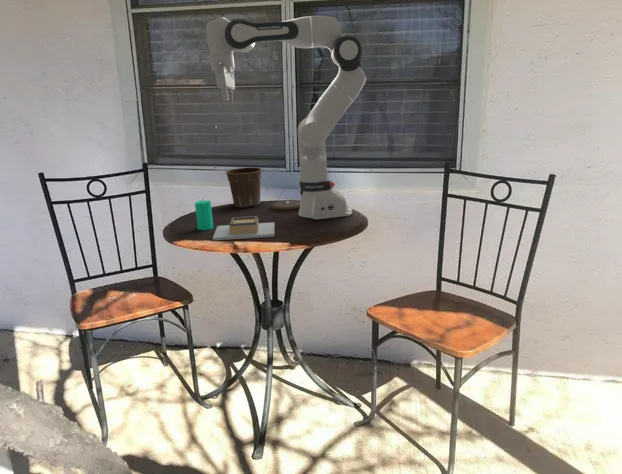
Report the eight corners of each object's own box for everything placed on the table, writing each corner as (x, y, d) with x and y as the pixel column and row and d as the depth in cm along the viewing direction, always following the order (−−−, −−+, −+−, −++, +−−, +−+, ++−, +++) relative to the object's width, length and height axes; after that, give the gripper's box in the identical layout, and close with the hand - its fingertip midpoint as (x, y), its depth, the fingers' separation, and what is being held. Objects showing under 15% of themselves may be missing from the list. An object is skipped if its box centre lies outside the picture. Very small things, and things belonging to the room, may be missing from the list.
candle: (209, 230, 195) (206, 199, 191) (195, 230, 196) (191, 199, 192) (215, 225, 200) (212, 196, 197) (201, 225, 201) (198, 196, 198)
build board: (274, 224, 197) (273, 212, 196) (274, 236, 182) (273, 223, 181) (217, 228, 196) (216, 216, 195) (212, 240, 181) (211, 227, 180)
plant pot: (224, 209, 227) (220, 173, 222) (234, 201, 242) (231, 167, 237) (259, 208, 224) (256, 172, 219) (267, 200, 239) (265, 166, 235)
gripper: (226, 59, 181) (232, 99, 184) (235, 65, 201) (240, 101, 204) (208, 62, 182) (215, 101, 185) (219, 68, 202) (225, 103, 205)
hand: (228, 101), depth 195 cm, fingers open, 8 cm apart
